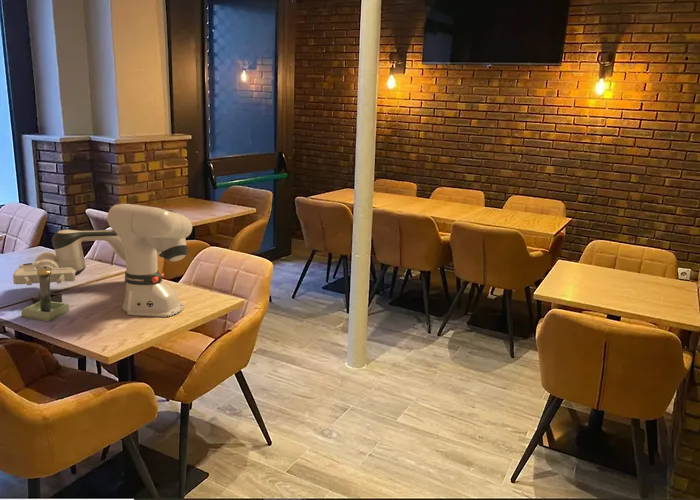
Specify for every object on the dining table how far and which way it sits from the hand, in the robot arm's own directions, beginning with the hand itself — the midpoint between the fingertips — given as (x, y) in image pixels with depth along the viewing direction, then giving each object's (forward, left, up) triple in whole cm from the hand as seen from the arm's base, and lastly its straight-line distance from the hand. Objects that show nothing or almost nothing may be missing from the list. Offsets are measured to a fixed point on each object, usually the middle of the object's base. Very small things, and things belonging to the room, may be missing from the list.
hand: (44, 282), depth 206 cm
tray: (-3, +4, -10) cm, 12 cm away
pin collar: (+3, -6, -10) cm, 12 cm away
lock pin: (-3, +4, -9) cm, 11 cm away
